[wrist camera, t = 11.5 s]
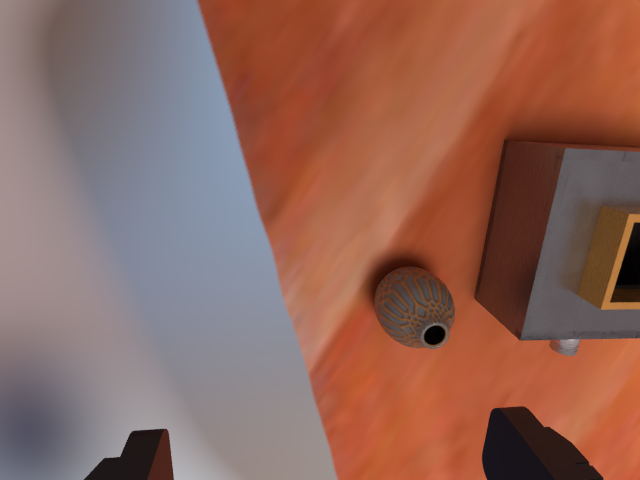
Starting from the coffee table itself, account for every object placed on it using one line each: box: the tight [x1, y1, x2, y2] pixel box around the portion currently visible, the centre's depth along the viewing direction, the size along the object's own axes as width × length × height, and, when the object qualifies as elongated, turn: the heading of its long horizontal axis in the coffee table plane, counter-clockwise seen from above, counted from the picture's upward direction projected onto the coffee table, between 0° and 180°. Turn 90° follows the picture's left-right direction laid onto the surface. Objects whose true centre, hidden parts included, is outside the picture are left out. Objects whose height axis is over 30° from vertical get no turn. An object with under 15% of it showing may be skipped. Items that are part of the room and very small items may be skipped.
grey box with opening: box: [475, 140, 640, 356], centre depth 36 cm, size 20×16×10 cm
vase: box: [374, 267, 455, 349], centre depth 36 cm, size 7×7×9 cm
